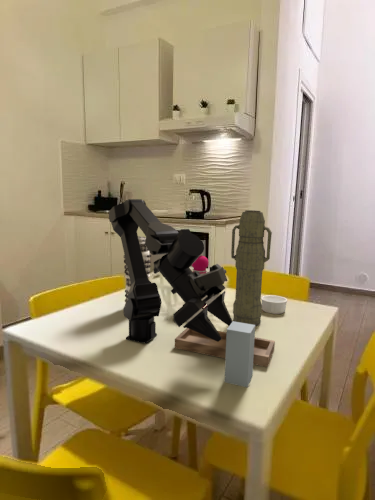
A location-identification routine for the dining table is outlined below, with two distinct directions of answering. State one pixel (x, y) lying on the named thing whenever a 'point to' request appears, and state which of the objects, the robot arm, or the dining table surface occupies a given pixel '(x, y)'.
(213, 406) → the dining table surface
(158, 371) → the dining table surface
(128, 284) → the decorative candle
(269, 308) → the ramekin
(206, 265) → the pepper mill
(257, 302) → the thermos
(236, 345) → the slate post
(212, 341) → the wooden tray
